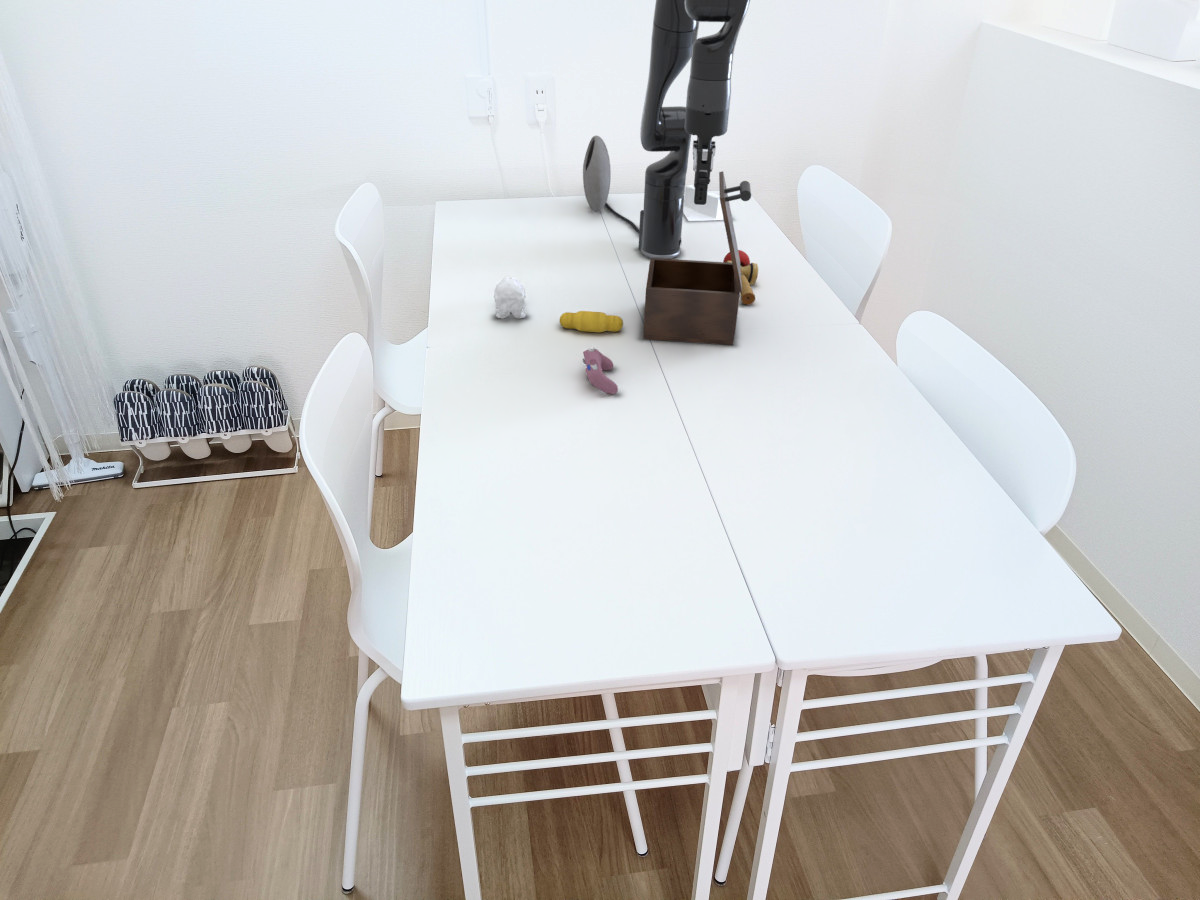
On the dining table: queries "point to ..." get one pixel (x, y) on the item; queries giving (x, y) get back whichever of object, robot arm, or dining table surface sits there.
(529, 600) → the dining table surface
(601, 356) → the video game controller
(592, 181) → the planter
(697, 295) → the toy chest
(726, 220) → the lid
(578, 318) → the yellow lobed rod
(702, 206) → the napkin holder
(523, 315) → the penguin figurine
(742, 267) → the kendama
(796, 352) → the dining table surface
